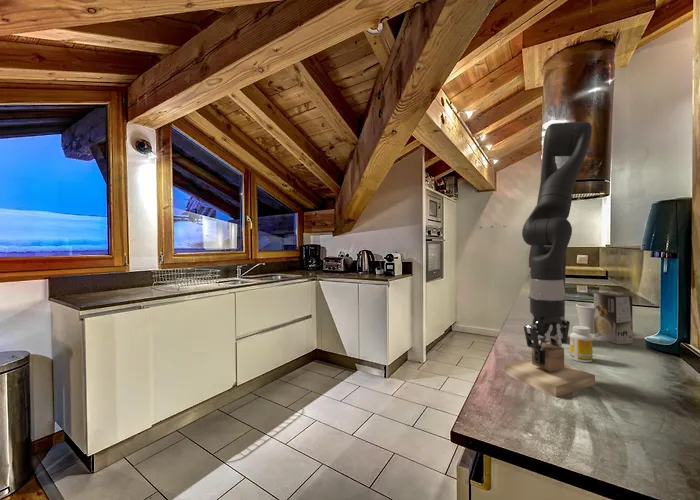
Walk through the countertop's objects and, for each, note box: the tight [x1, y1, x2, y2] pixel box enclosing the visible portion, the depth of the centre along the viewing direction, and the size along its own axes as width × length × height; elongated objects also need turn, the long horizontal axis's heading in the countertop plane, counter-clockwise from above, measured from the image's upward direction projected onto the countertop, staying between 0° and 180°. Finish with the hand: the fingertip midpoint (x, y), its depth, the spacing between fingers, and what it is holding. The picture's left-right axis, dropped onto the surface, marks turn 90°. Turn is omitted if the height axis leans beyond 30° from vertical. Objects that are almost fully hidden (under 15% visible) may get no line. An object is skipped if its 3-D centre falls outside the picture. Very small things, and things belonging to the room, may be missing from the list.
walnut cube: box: [531, 342, 565, 371], centre depth 79 cm, size 5×5×5 cm
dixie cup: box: [575, 302, 595, 334], centre depth 119 cm, size 8×8×10 cm
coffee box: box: [593, 291, 634, 345], centre depth 108 cm, size 9×6×16 cm
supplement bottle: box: [569, 325, 593, 363], centre depth 92 cm, size 5×5×10 cm
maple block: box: [504, 357, 596, 398], centre depth 80 cm, size 14×14×3 cm
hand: (547, 362), depth 80 cm, fingers closed on walnut cube, 5 cm apart
